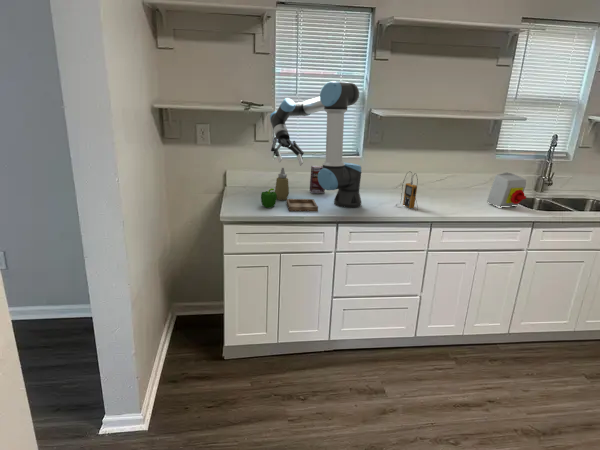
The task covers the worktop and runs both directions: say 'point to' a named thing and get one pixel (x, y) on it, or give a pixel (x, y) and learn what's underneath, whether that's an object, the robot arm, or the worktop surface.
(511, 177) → the electrical switch box
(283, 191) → the squeeze bottle
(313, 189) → the supplement box
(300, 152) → the robot arm
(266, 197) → the bell pepper
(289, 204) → the walnut tray
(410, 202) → the multimeter
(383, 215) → the worktop surface
